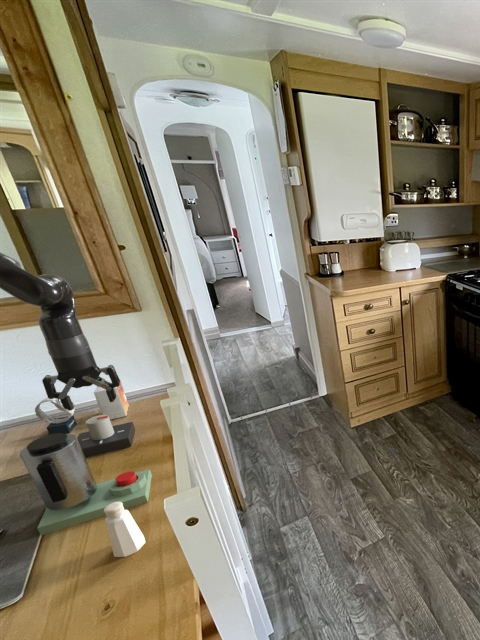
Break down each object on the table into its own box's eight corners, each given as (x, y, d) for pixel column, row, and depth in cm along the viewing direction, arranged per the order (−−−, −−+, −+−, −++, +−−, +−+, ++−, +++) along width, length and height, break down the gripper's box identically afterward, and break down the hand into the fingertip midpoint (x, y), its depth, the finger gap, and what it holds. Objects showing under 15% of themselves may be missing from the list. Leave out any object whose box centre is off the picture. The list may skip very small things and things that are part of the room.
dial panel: (74, 460, 103) (70, 451, 102) (82, 441, 110) (79, 432, 109) (131, 446, 109) (128, 437, 108) (135, 429, 117) (132, 421, 116)
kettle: (37, 521, 79) (7, 463, 73) (52, 492, 87) (25, 437, 81) (92, 505, 83) (67, 449, 78) (100, 478, 91) (78, 426, 85)
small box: (127, 416, 124) (116, 388, 120) (104, 421, 121) (93, 392, 117) (130, 406, 130) (120, 378, 126) (108, 410, 127) (97, 382, 123)
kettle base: (40, 535, 80) (33, 521, 79) (55, 503, 89) (48, 489, 87) (148, 502, 90) (143, 489, 88) (152, 475, 98) (147, 463, 97)
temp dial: (90, 442, 106) (83, 424, 103) (94, 433, 109) (87, 416, 107) (113, 437, 108) (106, 419, 106) (115, 428, 112) (109, 412, 110)
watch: (78, 431, 115) (65, 400, 111) (42, 438, 112) (27, 405, 108) (85, 422, 120) (72, 391, 116) (50, 428, 116) (36, 397, 112)
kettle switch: (116, 489, 88) (114, 483, 88) (118, 480, 91) (116, 474, 90) (136, 483, 90) (134, 477, 90) (138, 475, 93) (135, 469, 92)
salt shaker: (106, 552, 77) (87, 511, 73) (136, 532, 82) (120, 493, 77) (122, 562, 75) (104, 520, 71) (152, 541, 80) (136, 500, 76)
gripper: (109, 342, 106) (127, 393, 112) (36, 352, 98) (60, 406, 104) (104, 351, 100) (123, 404, 106) (27, 362, 92) (52, 418, 98)
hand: (92, 405), depth 105 cm, fingers open, 8 cm apart
